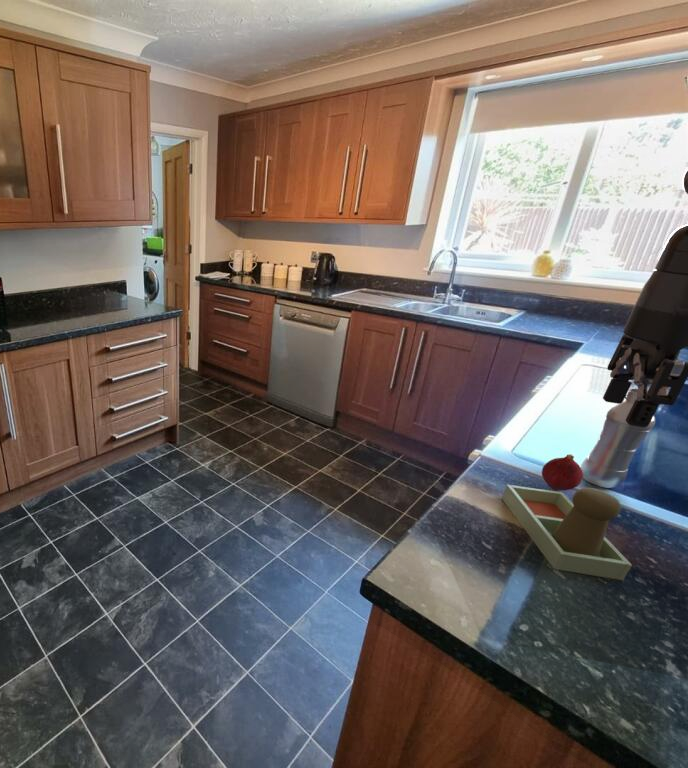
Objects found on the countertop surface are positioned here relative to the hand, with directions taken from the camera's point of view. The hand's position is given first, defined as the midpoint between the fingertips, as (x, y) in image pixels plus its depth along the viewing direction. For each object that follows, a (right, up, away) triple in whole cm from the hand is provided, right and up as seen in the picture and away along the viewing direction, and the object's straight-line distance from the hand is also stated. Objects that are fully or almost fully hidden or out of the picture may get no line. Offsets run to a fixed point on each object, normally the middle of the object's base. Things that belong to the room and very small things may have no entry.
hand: (622, 412), depth 64 cm
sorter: (-3, -21, +8) cm, 23 cm away
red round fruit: (+7, -17, +19) cm, 26 cm away
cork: (-4, -22, +4) cm, 23 cm away
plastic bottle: (+18, -16, +22) cm, 32 cm away
